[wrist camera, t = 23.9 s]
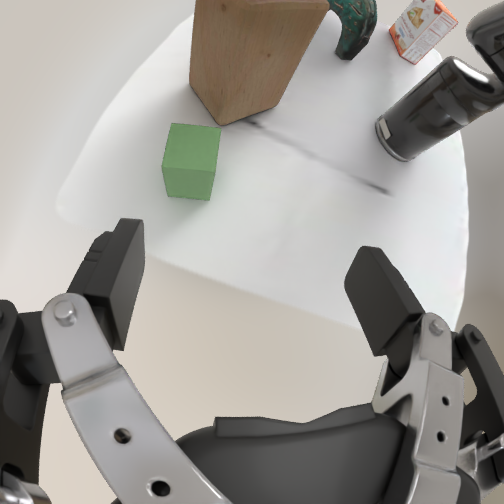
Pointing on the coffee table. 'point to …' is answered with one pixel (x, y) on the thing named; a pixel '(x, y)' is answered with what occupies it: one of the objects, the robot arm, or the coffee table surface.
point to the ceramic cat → (354, 25)
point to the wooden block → (248, 52)
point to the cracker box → (421, 28)
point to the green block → (190, 160)
